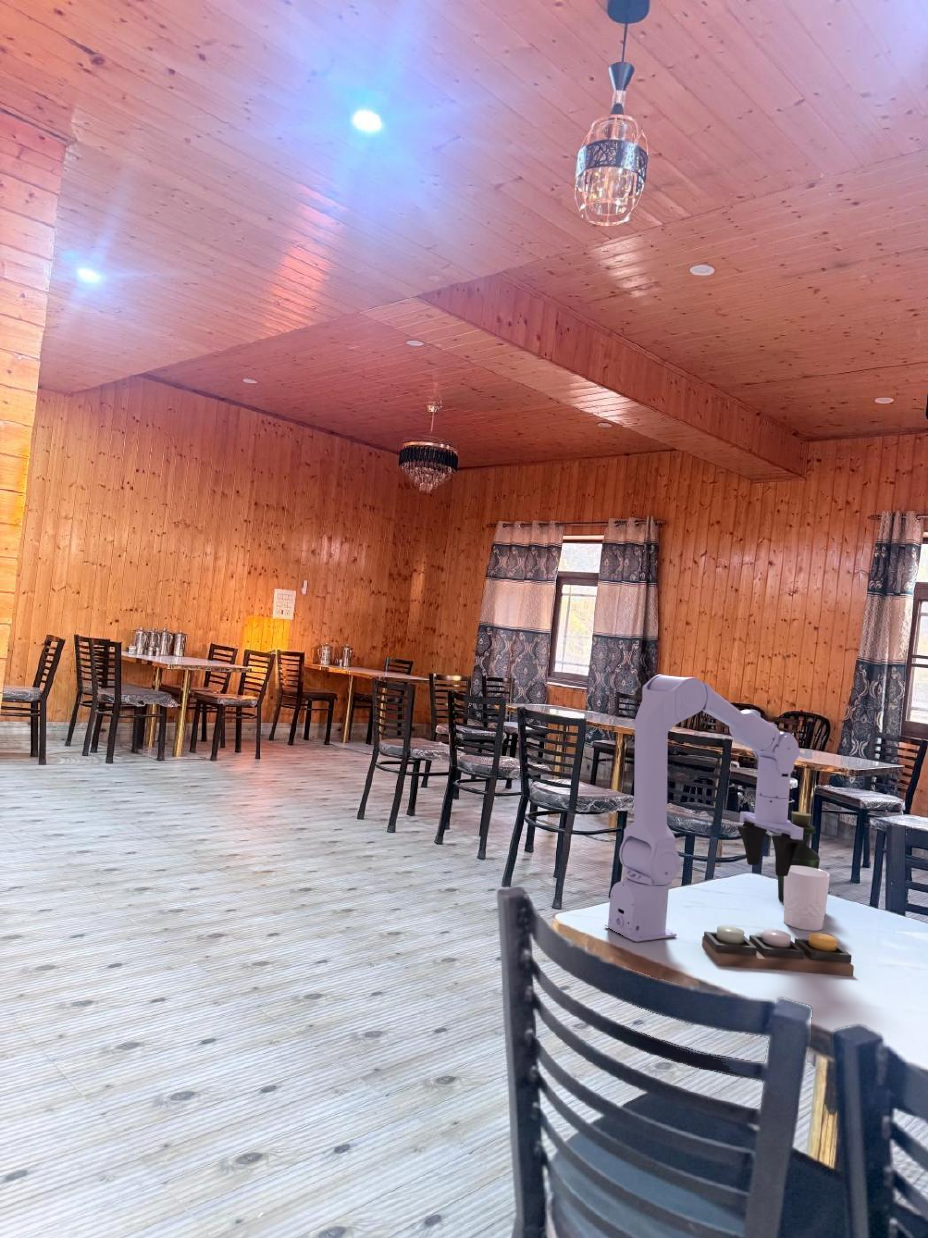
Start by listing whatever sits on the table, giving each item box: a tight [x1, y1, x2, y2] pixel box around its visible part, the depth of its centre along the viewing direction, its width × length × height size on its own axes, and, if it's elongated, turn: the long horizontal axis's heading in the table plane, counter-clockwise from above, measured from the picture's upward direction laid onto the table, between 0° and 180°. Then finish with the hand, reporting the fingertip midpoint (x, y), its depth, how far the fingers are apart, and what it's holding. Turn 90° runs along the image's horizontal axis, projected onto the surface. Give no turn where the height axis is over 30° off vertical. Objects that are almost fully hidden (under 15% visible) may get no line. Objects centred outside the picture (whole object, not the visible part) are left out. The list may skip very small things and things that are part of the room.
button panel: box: [701, 931, 854, 977], centre depth 138 cm, size 21×9×3 cm, turn 91°
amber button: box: [808, 932, 838, 951], centre depth 138 cm, size 4×4×1 cm
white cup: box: [783, 865, 831, 932], centre depth 159 cm, size 8×8×10 cm
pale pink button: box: [762, 928, 792, 947], centre depth 138 cm, size 4×4×1 cm
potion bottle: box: [777, 811, 821, 904], centre depth 175 cm, size 8×8×18 cm
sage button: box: [716, 925, 745, 943], centre depth 138 cm, size 4×4×1 cm
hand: (767, 870), depth 158 cm, fingers open, 7 cm apart
